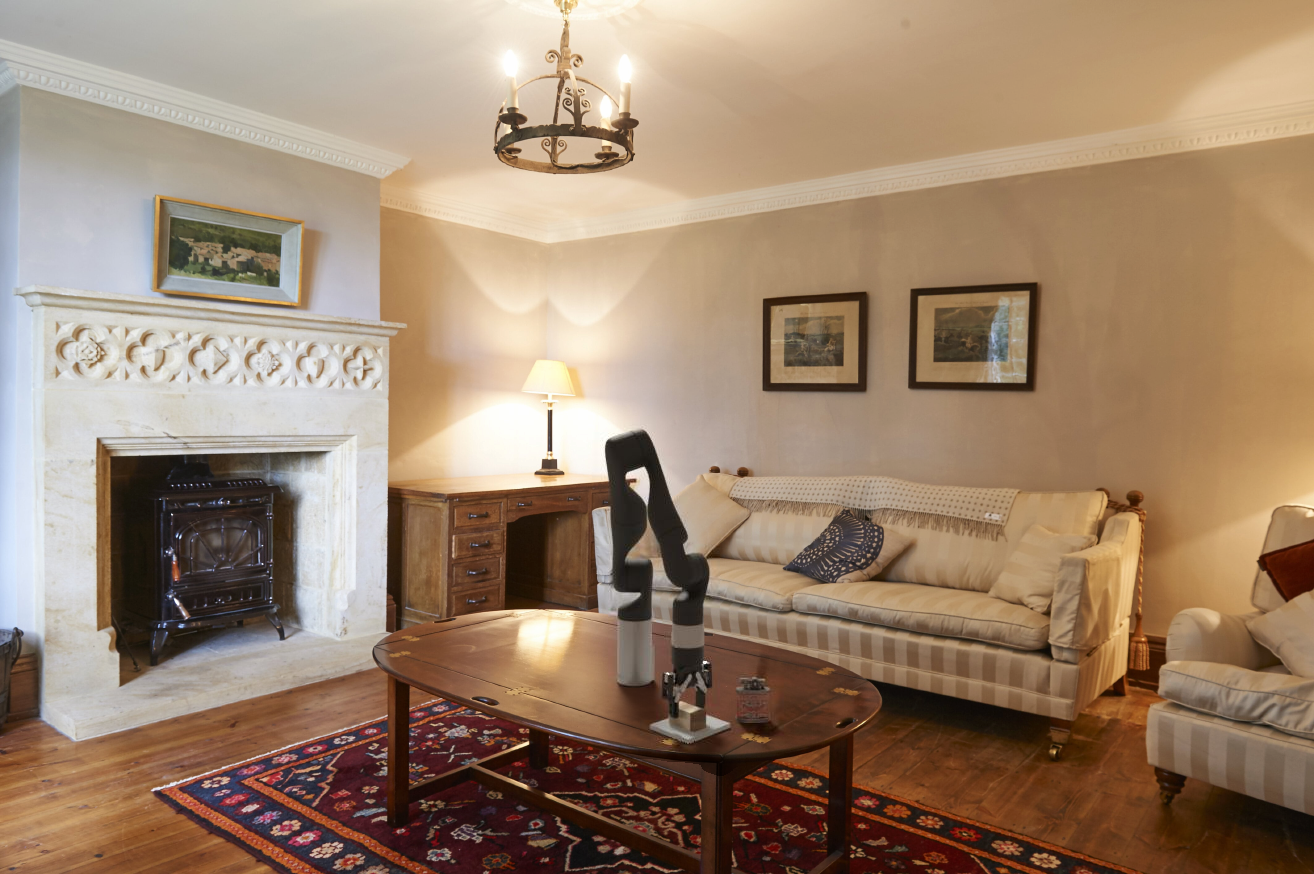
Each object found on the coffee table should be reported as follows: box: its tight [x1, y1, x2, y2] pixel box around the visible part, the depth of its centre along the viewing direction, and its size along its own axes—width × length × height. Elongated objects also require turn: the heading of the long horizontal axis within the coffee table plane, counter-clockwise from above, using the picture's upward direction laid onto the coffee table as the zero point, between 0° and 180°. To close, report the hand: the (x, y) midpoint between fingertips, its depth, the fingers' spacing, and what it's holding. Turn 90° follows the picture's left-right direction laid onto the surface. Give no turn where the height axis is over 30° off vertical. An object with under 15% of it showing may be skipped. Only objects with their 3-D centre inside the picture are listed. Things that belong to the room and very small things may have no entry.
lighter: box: [735, 676, 771, 724], centre depth 193 cm, size 8×3×10 cm, turn 92°
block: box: [668, 700, 707, 732], centre depth 187 cm, size 8×4×4 cm, turn 44°
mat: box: [649, 714, 731, 745], centre depth 188 cm, size 14×12×1 cm
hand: (687, 712), depth 187 cm, fingers open, 8 cm apart
